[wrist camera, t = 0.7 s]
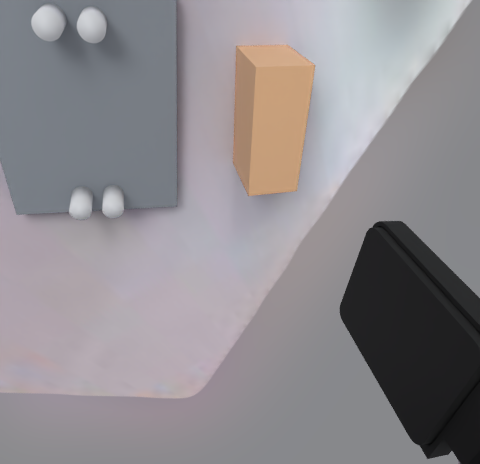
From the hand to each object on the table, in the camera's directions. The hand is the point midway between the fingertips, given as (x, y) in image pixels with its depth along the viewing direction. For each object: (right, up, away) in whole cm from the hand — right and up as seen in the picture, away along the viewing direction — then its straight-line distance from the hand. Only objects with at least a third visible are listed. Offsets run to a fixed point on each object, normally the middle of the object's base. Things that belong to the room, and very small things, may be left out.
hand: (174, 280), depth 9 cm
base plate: (-13, +12, +28) cm, 33 cm away
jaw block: (+3, +14, +32) cm, 35 cm away
